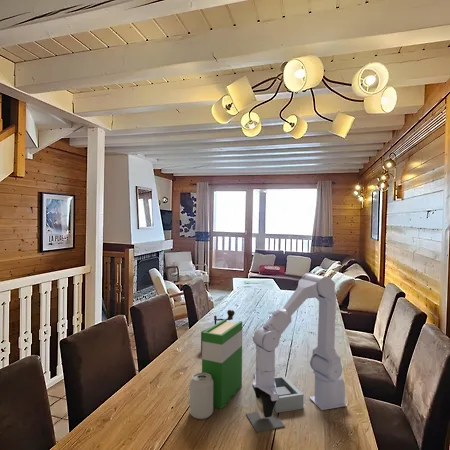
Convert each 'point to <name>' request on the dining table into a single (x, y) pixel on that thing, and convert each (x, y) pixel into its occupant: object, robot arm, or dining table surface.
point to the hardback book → (223, 359)
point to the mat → (264, 422)
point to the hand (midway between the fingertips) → (264, 412)
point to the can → (201, 395)
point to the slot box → (287, 395)
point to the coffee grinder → (230, 317)
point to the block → (260, 408)
